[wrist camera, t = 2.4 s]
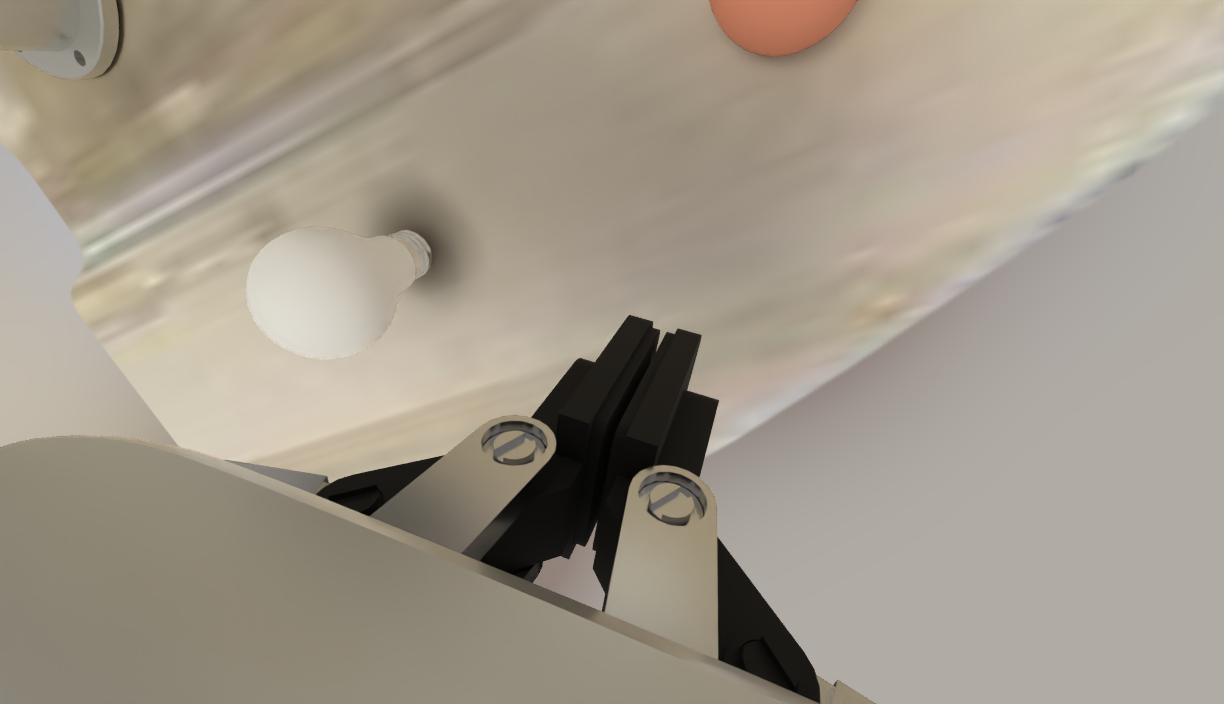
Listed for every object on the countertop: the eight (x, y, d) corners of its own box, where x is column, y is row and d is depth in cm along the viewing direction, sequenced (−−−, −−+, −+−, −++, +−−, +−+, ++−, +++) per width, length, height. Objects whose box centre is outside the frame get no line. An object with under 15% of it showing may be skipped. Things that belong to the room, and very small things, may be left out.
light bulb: (462, 203, 29) (311, 264, 20) (470, 306, 33) (344, 397, 24) (367, 188, 31) (187, 238, 22) (384, 288, 34) (235, 367, 25)
